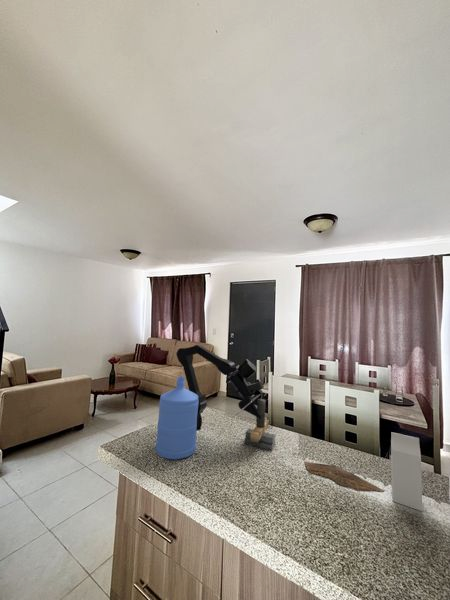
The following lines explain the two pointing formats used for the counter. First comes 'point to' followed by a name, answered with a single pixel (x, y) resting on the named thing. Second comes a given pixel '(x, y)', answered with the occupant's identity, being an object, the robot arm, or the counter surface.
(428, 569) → the counter surface
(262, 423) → the tan grey t-shaped tool
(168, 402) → the water jug
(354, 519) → the counter surface
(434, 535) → the counter surface
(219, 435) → the counter surface
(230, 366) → the robot arm
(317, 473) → the wooden fragment
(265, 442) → the ridge stand
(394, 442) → the milk carton
